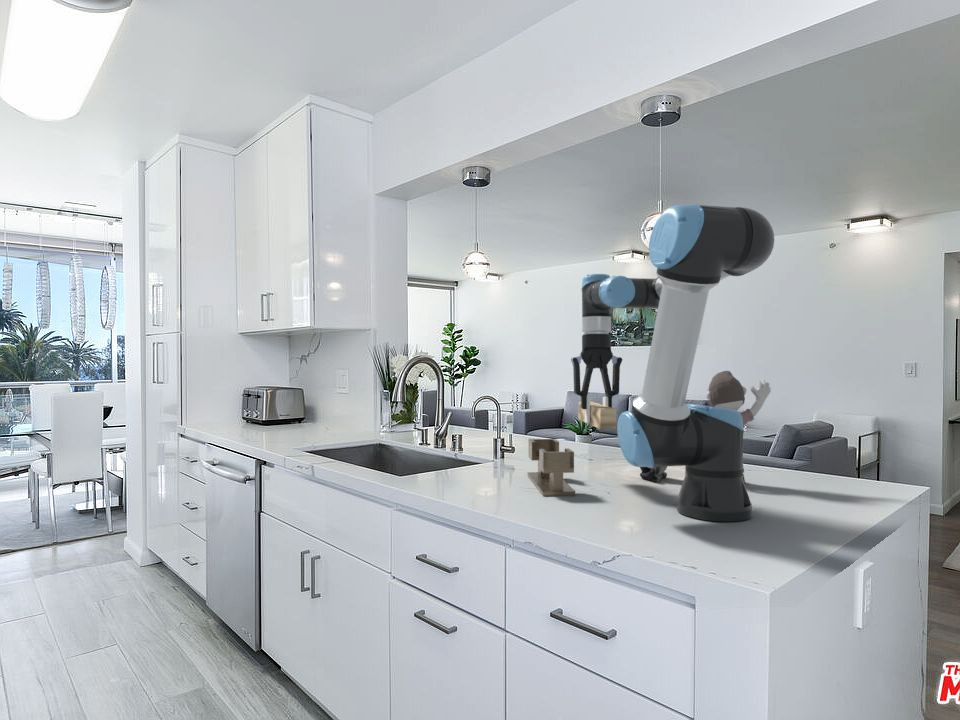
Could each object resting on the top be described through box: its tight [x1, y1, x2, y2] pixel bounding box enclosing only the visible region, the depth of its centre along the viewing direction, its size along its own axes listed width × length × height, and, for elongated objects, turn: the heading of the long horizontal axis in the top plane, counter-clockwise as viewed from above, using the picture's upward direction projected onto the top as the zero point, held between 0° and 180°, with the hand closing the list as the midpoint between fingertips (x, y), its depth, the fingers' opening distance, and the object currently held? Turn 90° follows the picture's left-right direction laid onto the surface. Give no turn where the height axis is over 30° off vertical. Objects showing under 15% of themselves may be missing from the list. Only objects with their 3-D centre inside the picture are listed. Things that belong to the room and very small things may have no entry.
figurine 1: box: [639, 466, 668, 482], centre depth 167 cm, size 10×10×15 cm
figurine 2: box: [705, 370, 772, 485], centre depth 163 cm, size 18×9×30 cm, turn 84°
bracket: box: [526, 438, 576, 497], centre depth 160 cm, size 25×8×10 cm, turn 4°
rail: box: [578, 401, 617, 430], centre depth 161 cm, size 20×4×5 cm, turn 6°
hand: (596, 421), depth 161 cm, fingers closed on rail, 4 cm apart
